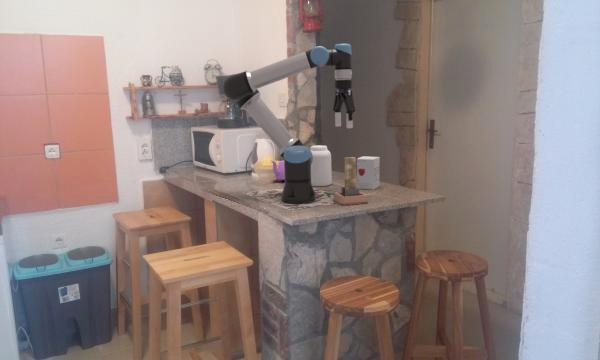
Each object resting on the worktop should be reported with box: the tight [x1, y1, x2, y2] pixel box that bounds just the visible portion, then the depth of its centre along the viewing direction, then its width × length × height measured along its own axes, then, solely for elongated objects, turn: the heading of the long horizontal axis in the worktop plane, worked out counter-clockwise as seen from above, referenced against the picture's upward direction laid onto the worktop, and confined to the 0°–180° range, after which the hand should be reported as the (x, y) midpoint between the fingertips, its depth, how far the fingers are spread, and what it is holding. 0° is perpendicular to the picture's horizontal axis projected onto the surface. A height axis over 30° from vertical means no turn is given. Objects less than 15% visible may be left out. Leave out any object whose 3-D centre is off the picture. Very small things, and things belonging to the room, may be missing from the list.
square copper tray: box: [333, 186, 369, 206], centre depth 207 cm, size 11×11×6 cm
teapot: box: [271, 160, 285, 182], centre depth 260 cm, size 20×14×12 cm
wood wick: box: [344, 156, 357, 197], centre depth 206 cm, size 4×2×18 cm, turn 107°
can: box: [309, 144, 333, 187], centre depth 247 cm, size 12×12×20 cm
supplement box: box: [356, 155, 381, 191], centre depth 236 cm, size 9×9×15 cm
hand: (343, 127), depth 220 cm, fingers open, 13 cm apart
